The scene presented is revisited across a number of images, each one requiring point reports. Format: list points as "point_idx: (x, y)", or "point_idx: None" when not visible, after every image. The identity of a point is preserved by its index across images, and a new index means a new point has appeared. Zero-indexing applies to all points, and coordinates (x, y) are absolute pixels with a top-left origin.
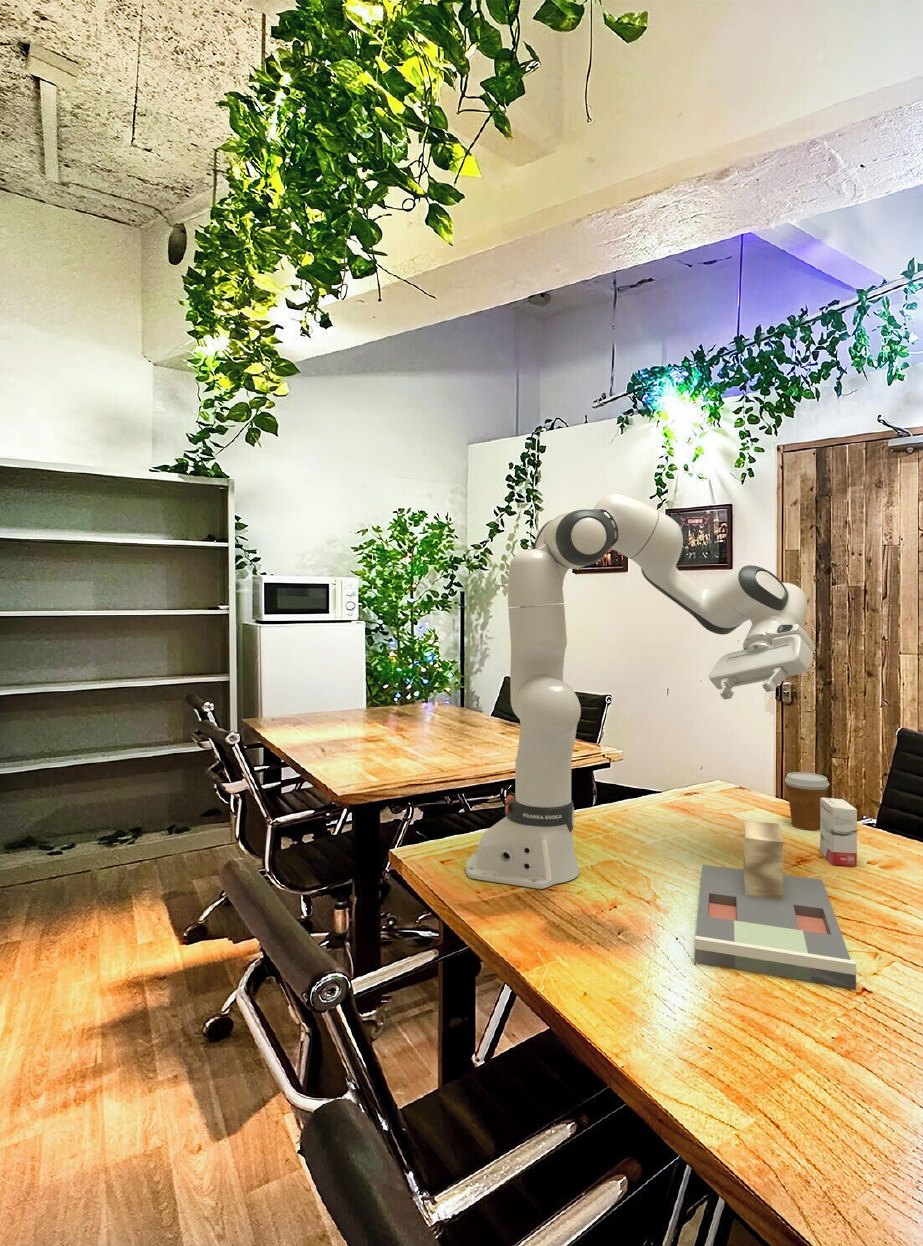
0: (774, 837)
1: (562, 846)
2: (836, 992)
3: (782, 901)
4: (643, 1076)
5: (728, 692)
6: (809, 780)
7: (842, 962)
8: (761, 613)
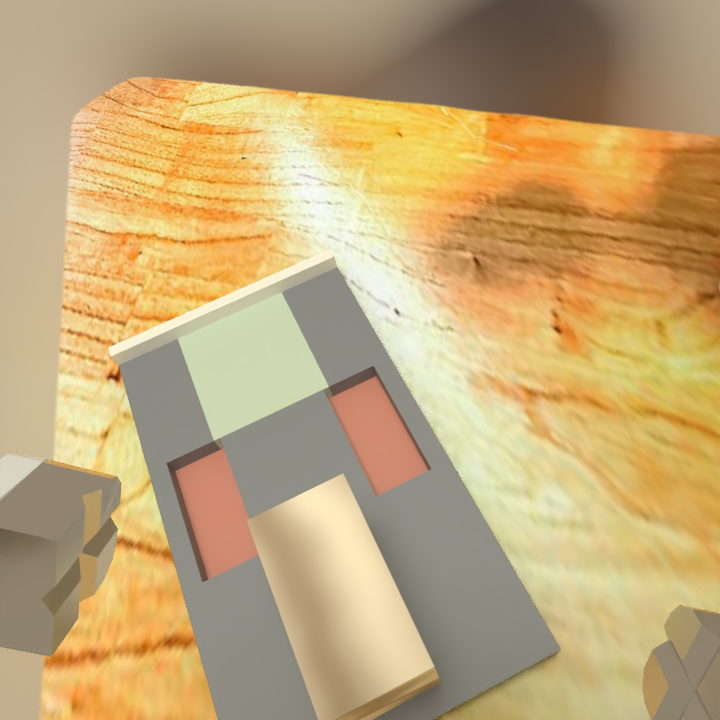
0: (280, 546)
1: None
2: None
3: None
4: (275, 96)
5: (699, 675)
6: None
7: (126, 340)
8: None
